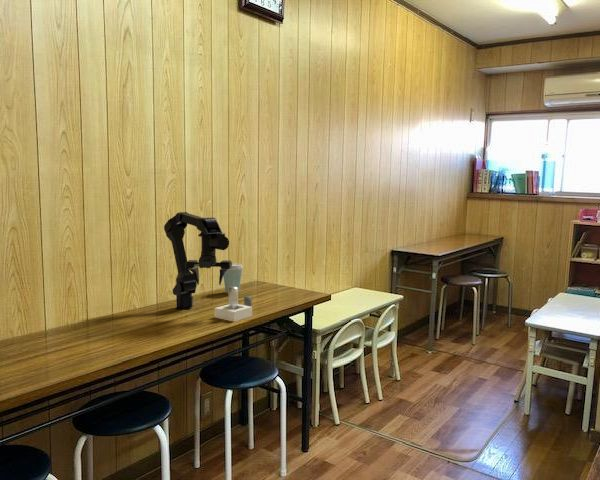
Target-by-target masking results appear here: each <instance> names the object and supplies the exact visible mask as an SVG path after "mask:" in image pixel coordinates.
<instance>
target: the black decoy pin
mask: <svg viewBox="0 0 600 480" xmlns="http://www.w3.org/2000/svg"><path fill="white" fill-rule="evenodd" d="M252 298H253V297H252V296H251V295H249V296H248V295H246V296H244V297H243V300H244V301H243V305H245V306H251V307H252V308H253V306H252V304H253V303H252V301H253V299H252Z"/></svg>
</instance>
